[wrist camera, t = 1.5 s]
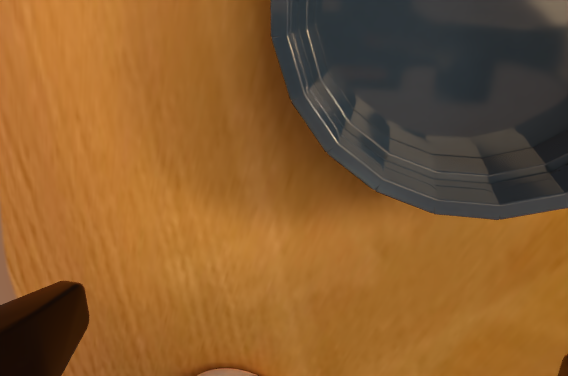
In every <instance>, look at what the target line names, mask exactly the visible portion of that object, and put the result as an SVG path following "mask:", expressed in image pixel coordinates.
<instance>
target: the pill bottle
mask: <svg viewBox="0 0 568 376" xmlns="http://www.w3.org/2000/svg"><path fill="white" fill-rule="evenodd" d="M197 376H258V375H256V374H253V373H250V372H247V371H244V370H239V369H232V368H220V369H213V370H209V371H206V372H203V373H201V374H199V375H197Z"/></svg>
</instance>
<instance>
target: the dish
mask: <svg viewBox="0 0 568 376" xmlns="http://www.w3.org/2000/svg"><path fill="white" fill-rule="evenodd" d="M271 37H272V42H273V46H274V49H275V52H276V55H277V59H278V62H279V65H280V68H281V72H282V75H283V78H284V81H285V85H286V88H287V91H288V94H289V98H290V100H292V101H291V102H292V104H293V105H294V107H295V108H296V110H297V111H298V113H299V114H300V116H301V117H302V119H303V120H304V121H305V123H306V124H307V126H308V127H309V129H310V130H311V132H312V133H313V135H314V136H315V137H316V139H317V140H318V142H319V143H320V145H321V146H322V148H323V149H324V151H325V152H327V154H328V155H329V156H331V157H332V158H333V159H334V160H336V161H337V162H338V163H340V164H341V165H342V166H343V167H345V168H346V169H347V170H348V171H350V172H351V173H352V174H354V175H355V176H356V177H357V178H359V179H360V180H361V181H362V182H364V183H365V184H366V185H368V186H369V187H370V188H371V189H373V190H375V191H376V192H378V193H381V194H384V195H386V196H389V197H391V198H394V199H397V200H399V201H402V202H404V203H407V204H409V205H412V206H415V207H417V208H420V209H422V210H425V211H427V212H430V213H434V214H439V215H450V216H461V217H472V218H483V219H494V220H499V219H507V218H513V217H518V216H524V215H530V214H536V213H541V212H547V211H553V210H559V209H565V208H568V0H271Z"/></svg>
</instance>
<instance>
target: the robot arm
mask: <svg viewBox="0 0 568 376" xmlns="http://www.w3.org/2000/svg"><path fill="white" fill-rule="evenodd" d="M88 324H89V311H88V305H87V299H86V294H85V289H84V287H83V285H82V284H80V283H77V282H70V281H60V282H57V283H55V284H52V285H50V286H47V287H45V288H42V289H40V290H37V291H35V292H32V293H30V294H27V295H25V296H22V297H20V298H17V299H15V300H12V301H10V302H8V303H5V304H3V305H0V376H61V375H62V373H63V372H64V370H65V368H66V366H67V364H68V362H69V361H70V359H71V357H72V355H73V353H74V351H75V350H76V348H77V346H78V344H79V342H80V340H81V339H82V337H83V335H84V333H85V331H86V329H87V327H88ZM558 376H568V354H567V355H565V356H564V358H563V360H562V363H561V366H560V369H559V373H558Z"/></svg>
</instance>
